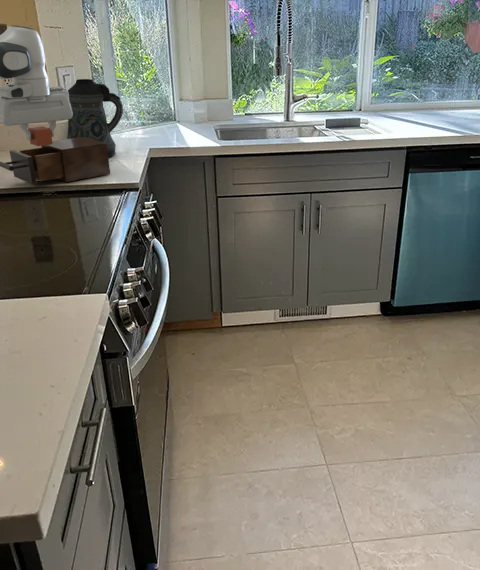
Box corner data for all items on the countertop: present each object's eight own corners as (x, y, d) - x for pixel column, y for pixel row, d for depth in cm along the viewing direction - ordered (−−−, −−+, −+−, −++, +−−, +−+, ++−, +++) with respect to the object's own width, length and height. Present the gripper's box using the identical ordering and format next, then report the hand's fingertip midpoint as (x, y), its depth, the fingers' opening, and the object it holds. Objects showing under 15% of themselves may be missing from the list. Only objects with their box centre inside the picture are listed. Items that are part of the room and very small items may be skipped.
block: (37, 146, 170) (35, 130, 168) (30, 143, 172) (27, 128, 170) (52, 144, 173) (50, 128, 171) (45, 141, 176) (42, 126, 174)
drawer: (16, 187, 165) (10, 159, 162) (-3, 179, 172) (-8, 152, 169) (76, 176, 178) (73, 150, 175) (57, 169, 185) (53, 144, 181)
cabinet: (66, 181, 175) (61, 149, 171) (45, 173, 183) (40, 142, 179) (110, 173, 186) (106, 143, 181) (89, 166, 193) (85, 136, 189)
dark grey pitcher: (58, 154, 206) (45, 79, 195) (110, 145, 219) (100, 74, 208) (80, 163, 196) (67, 84, 185) (133, 154, 208) (124, 80, 197)
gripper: (62, 84, 175) (68, 132, 181) (-10, 89, 161) (0, 140, 167) (73, 87, 171) (79, 135, 177) (0, 92, 157) (10, 144, 163)
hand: (40, 138), depth 172 cm, fingers closed on block, 4 cm apart
